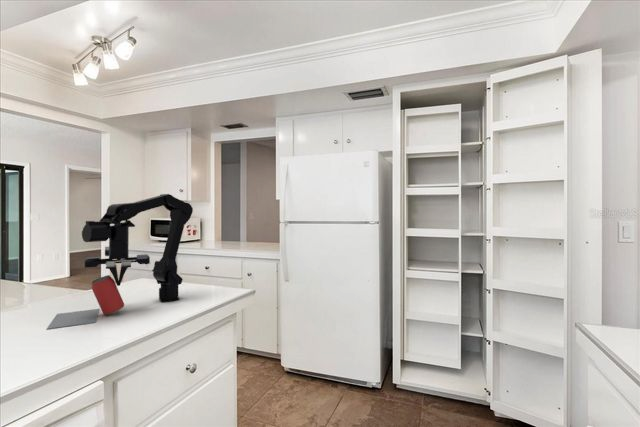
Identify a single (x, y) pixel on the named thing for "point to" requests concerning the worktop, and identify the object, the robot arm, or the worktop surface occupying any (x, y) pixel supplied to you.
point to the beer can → (107, 295)
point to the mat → (74, 318)
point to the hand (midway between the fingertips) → (118, 285)
